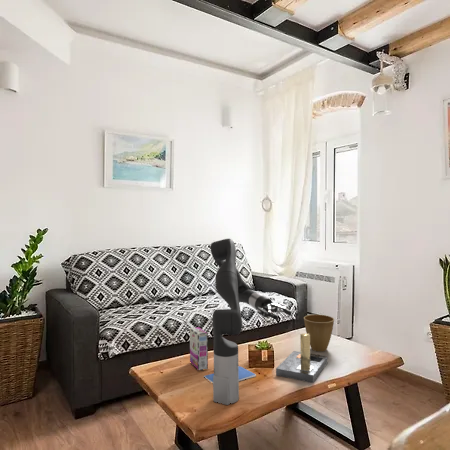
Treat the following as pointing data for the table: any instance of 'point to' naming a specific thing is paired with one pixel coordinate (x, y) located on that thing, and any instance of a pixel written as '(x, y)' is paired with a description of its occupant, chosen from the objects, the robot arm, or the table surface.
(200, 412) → the table surface
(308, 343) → the barrel peg
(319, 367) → the grey flat block
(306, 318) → the plant pot
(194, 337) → the candy bar box
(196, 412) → the table surface
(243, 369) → the blue notebook
